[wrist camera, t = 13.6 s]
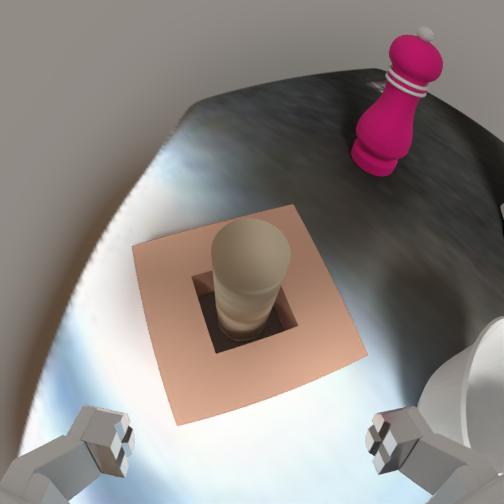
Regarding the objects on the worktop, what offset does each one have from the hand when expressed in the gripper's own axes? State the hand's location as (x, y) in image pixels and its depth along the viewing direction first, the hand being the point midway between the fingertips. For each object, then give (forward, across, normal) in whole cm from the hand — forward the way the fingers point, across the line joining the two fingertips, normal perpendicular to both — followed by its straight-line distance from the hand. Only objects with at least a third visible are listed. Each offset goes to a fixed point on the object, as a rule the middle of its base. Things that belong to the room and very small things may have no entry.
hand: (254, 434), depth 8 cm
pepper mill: (+31, -17, -11) cm, 37 cm away
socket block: (+16, 0, +4) cm, 16 cm away
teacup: (+8, -19, +12) cm, 24 cm away
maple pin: (+16, 0, +4) cm, 16 cm away
